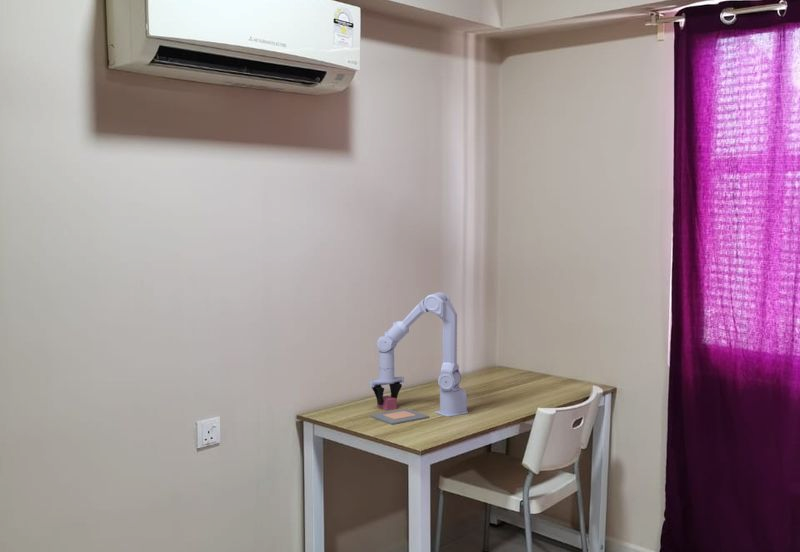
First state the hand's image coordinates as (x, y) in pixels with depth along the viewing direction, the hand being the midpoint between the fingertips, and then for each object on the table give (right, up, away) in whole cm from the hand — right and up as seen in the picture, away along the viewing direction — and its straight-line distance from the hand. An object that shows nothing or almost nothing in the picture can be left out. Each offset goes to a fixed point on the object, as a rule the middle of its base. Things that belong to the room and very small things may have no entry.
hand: (386, 403), depth 299 cm
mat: (+5, -3, -14) cm, 15 cm away
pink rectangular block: (0, -2, 0) cm, 2 cm away
